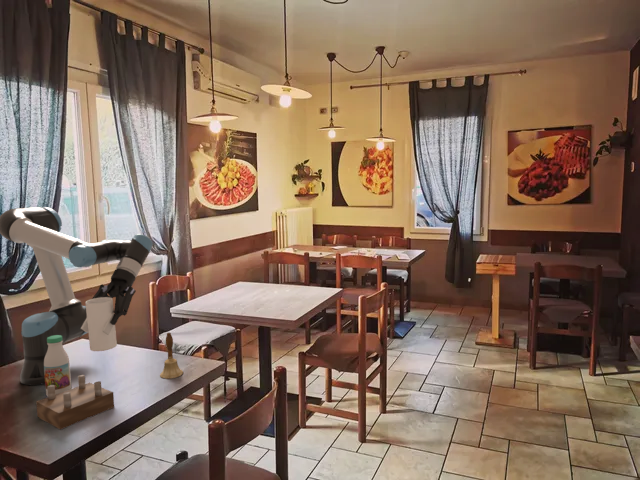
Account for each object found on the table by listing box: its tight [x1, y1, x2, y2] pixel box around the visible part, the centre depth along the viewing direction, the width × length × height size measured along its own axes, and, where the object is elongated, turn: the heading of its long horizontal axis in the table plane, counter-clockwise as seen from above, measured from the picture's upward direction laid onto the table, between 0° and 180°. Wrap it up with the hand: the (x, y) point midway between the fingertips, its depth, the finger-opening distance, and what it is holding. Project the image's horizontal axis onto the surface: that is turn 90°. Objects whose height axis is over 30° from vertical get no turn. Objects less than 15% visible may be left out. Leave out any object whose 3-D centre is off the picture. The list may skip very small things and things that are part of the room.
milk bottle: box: [44, 335, 72, 397], centre depth 165 cm, size 8×8×20 cm
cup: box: [85, 297, 118, 352], centre depth 160 cm, size 8×8×16 cm
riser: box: [35, 374, 115, 431], centre depth 151 cm, size 14×17×9 cm
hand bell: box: [159, 332, 184, 380], centre depth 180 cm, size 8×8×16 cm
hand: (94, 331), depth 158 cm, fingers closed on cup, 8 cm apart
